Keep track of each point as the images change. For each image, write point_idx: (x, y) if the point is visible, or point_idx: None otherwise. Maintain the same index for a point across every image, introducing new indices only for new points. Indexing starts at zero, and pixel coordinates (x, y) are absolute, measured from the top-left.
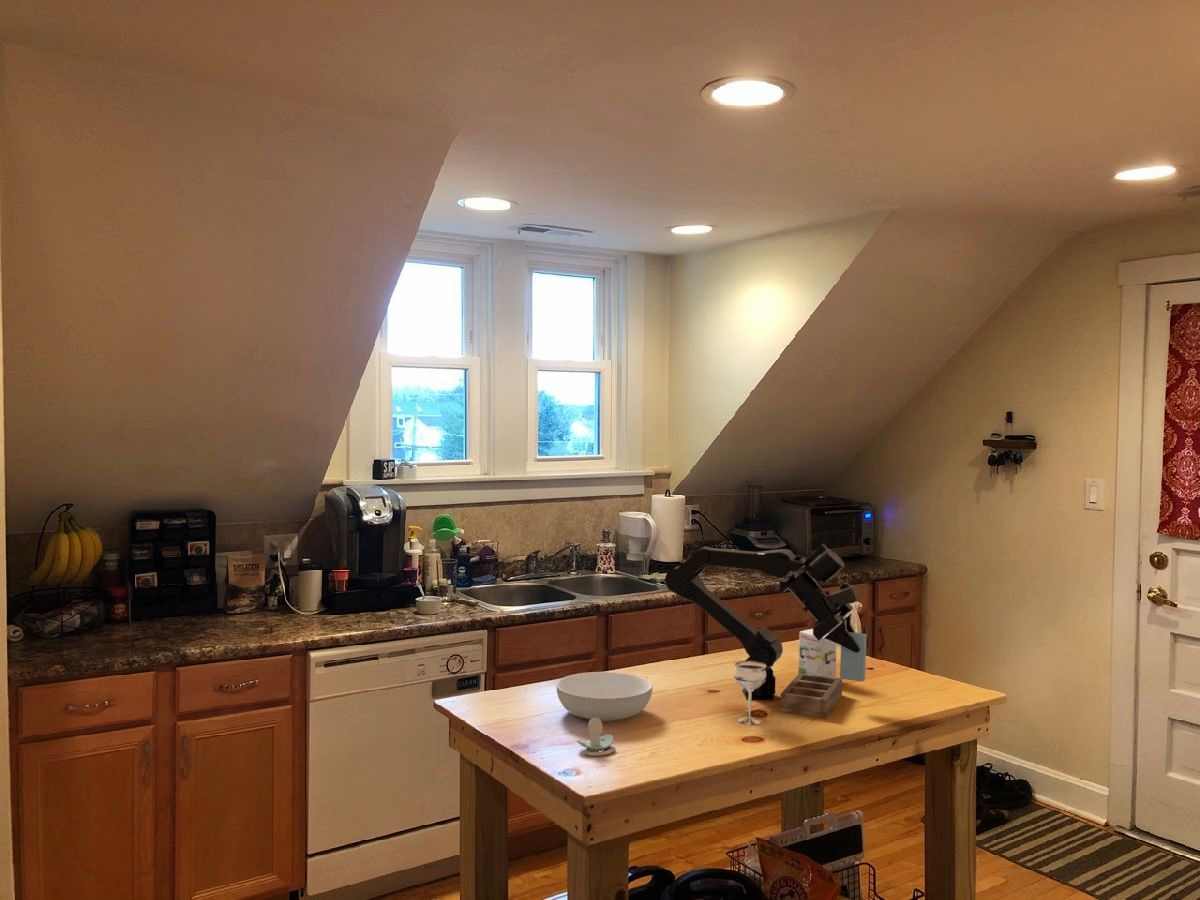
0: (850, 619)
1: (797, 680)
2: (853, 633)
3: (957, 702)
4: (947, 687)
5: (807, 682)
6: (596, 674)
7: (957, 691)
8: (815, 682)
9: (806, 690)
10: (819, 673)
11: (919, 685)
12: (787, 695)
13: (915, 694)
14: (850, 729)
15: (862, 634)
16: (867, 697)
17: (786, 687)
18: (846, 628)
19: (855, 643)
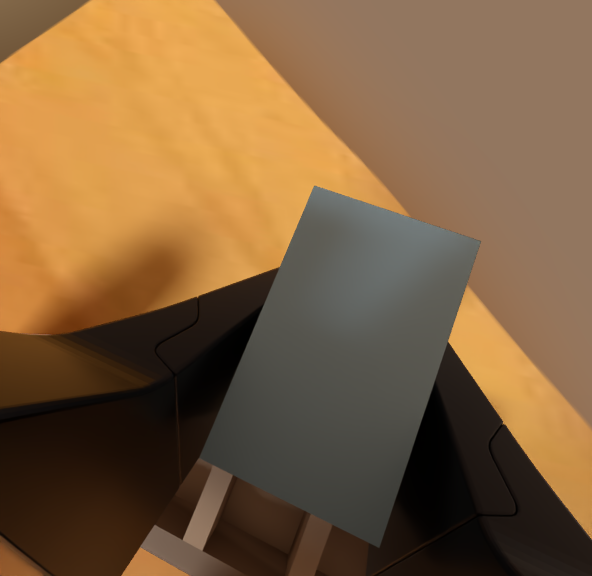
0: (7, 362)
1: (192, 552)
2: (317, 347)
3: (239, 42)
4: (109, 38)
5: (218, 510)
6: None
7: (144, 23)
8: (218, 473)
9: (326, 540)
10: None
11: (90, 101)
12: None
13: (172, 128)
14: (544, 397)
15: (358, 240)
16: (204, 268)
17: None
18: (511, 553)
19: (453, 353)
